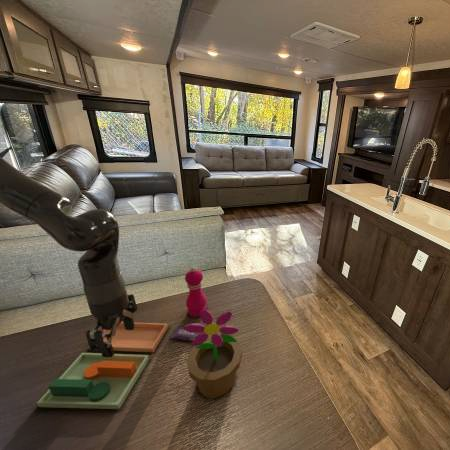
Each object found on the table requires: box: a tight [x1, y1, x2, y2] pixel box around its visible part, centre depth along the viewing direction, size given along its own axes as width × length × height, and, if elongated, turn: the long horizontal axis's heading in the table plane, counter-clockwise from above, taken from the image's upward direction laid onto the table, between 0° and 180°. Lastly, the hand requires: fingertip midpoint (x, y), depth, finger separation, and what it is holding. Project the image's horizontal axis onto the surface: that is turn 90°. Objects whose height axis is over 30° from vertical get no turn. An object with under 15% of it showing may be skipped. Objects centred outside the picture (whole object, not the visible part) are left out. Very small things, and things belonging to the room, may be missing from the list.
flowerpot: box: [183, 308, 243, 399], centre depth 66 cm, size 14×14×30 cm
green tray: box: [36, 352, 150, 410], centre depth 68 cm, size 19×14×2 cm
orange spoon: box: [84, 361, 137, 380], centre depth 69 cm, size 13×4×4 cm, turn 92°
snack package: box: [170, 326, 205, 342], centre depth 84 cm, size 12×2×5 cm
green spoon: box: [48, 378, 110, 402], centre depth 64 cm, size 13×4×4 cm, turn 92°
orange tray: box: [87, 321, 169, 353], centre depth 81 cm, size 19×10×2 cm, turn 92°
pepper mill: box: [184, 266, 207, 318], centre depth 92 cm, size 7×7×20 cm
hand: (120, 341), depth 65 cm, fingers open, 8 cm apart
